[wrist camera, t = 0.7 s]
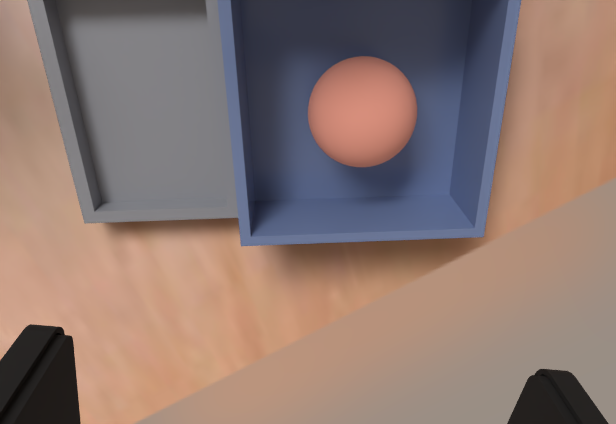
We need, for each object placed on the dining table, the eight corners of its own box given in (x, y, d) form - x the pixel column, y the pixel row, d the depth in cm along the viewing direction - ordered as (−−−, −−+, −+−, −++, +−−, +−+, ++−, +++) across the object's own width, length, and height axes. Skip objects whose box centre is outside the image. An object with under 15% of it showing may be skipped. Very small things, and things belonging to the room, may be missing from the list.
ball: (407, 47, 28) (435, 64, 23) (400, 146, 31) (424, 182, 25) (304, 50, 28) (308, 68, 22) (307, 149, 30) (311, 186, 25)
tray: (223, -25, 27) (218, -25, 25) (243, 204, 33) (241, 217, 31) (40, -20, 26) (22, -20, 24) (95, 209, 32) (84, 223, 31)
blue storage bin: (482, -33, 27) (526, -35, 22) (454, 198, 33) (483, 237, 28) (228, -27, 26) (214, -28, 22) (248, 205, 33) (241, 246, 28)
